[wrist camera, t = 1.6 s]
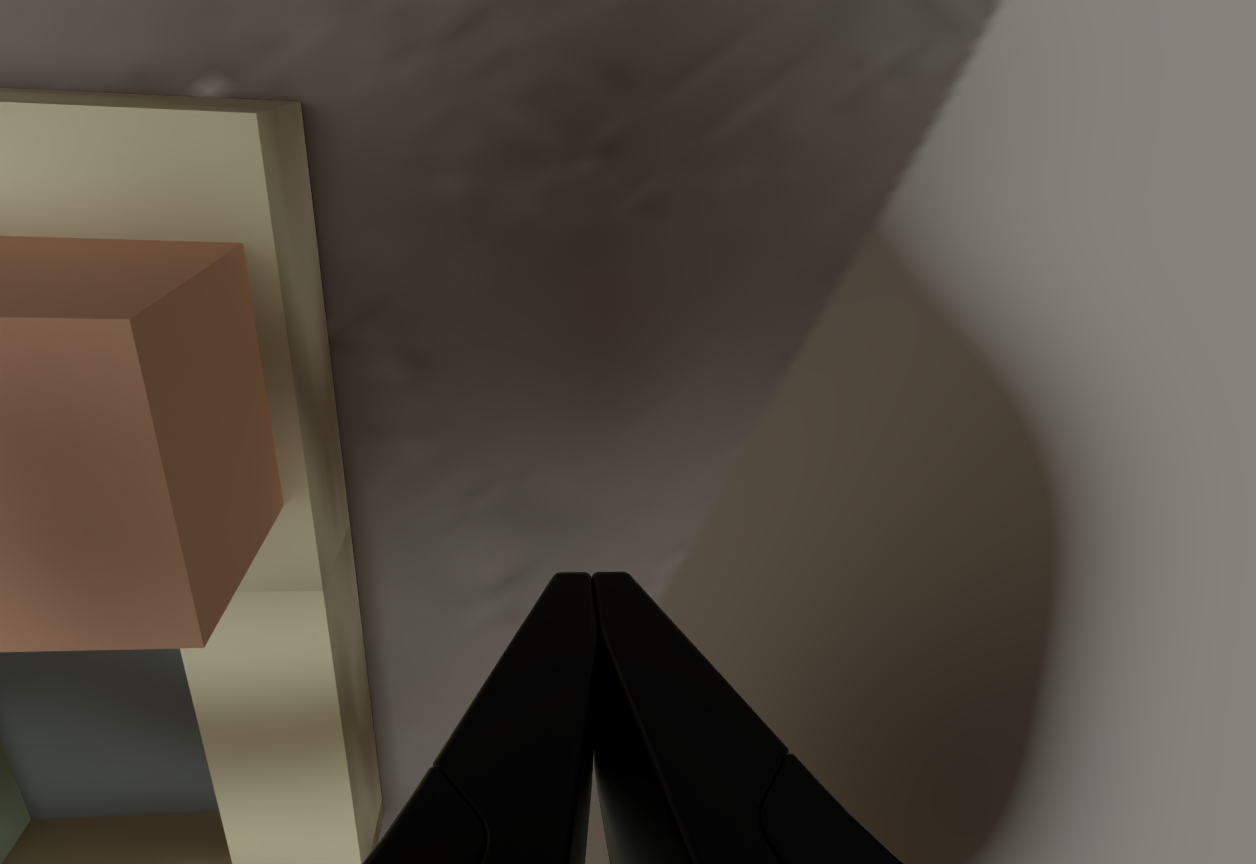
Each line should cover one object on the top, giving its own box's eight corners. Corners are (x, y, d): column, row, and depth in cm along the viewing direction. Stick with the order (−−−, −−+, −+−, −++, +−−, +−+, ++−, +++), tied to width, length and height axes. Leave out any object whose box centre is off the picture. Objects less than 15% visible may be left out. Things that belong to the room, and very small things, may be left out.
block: (283, 506, 15) (204, 647, 12) (1, 506, 15) (-172, 655, 11) (242, 243, 13) (129, 319, 10) (-90, 233, 13) (-340, 310, 9)
